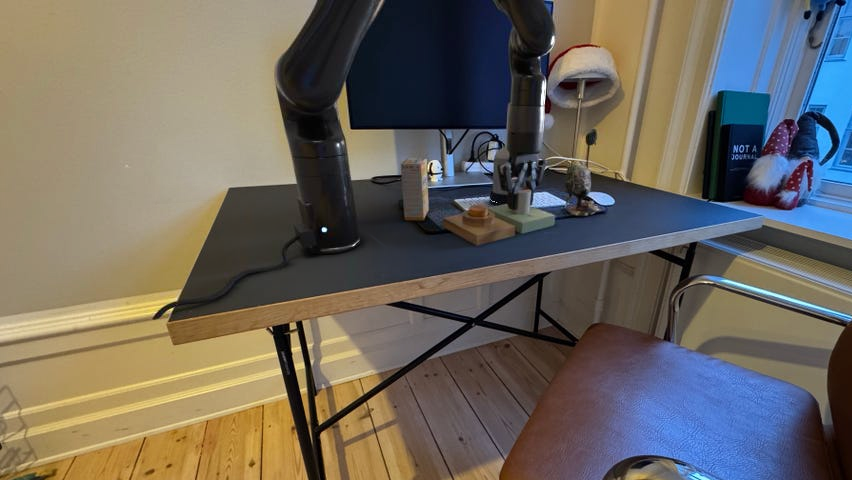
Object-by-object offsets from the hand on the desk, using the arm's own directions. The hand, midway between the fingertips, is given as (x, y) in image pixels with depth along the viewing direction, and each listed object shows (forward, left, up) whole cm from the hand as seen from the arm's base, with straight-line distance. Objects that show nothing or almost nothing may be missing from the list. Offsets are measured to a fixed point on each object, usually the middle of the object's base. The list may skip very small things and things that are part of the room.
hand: (520, 206), depth 85 cm
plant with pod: (+18, -3, -4) cm, 19 cm away
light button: (-12, 0, 0) cm, 12 cm away
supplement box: (-18, +17, -4) cm, 25 cm away
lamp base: (-12, 0, -4) cm, 12 cm away
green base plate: (0, 0, -4) cm, 4 cm away
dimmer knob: (0, 0, -1) cm, 1 cm away
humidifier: (+7, +14, -4) cm, 16 cm away
